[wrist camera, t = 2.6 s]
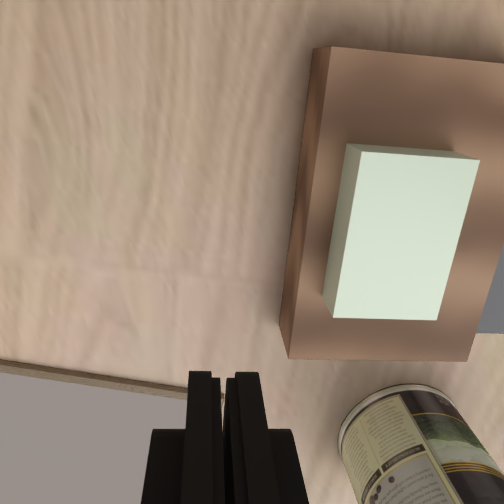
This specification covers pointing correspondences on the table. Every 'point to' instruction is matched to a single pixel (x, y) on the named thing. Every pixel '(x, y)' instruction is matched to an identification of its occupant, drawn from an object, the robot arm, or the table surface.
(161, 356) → the table surface
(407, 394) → the coffee can
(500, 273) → the mat
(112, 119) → the table surface
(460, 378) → the table surface
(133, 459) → the picture frame
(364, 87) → the brown wooden flat block
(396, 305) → the block
